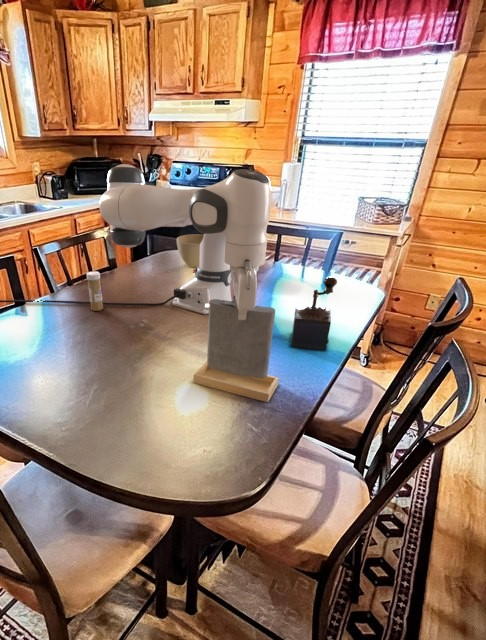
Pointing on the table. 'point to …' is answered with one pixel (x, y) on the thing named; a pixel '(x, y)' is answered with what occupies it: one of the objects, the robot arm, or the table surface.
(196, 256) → the flower pot
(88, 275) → the sprinkles bottle
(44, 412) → the table surface
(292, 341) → the dark brown coffee grinder
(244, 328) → the hip flask
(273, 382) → the flask stand
